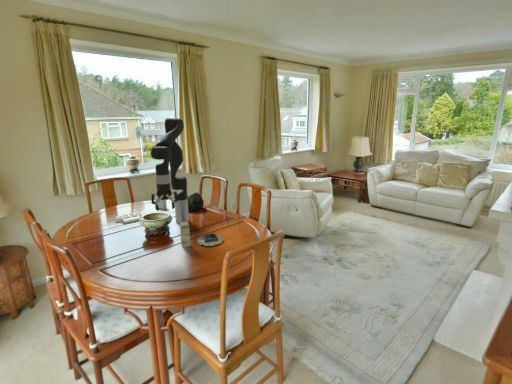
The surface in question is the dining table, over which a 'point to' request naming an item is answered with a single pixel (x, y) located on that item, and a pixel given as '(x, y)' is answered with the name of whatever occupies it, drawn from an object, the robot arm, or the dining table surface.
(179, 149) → the robot arm
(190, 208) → the squash
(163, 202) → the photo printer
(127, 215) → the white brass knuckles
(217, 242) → the rosette plate
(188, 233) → the wedge peg
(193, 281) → the dining table surface
